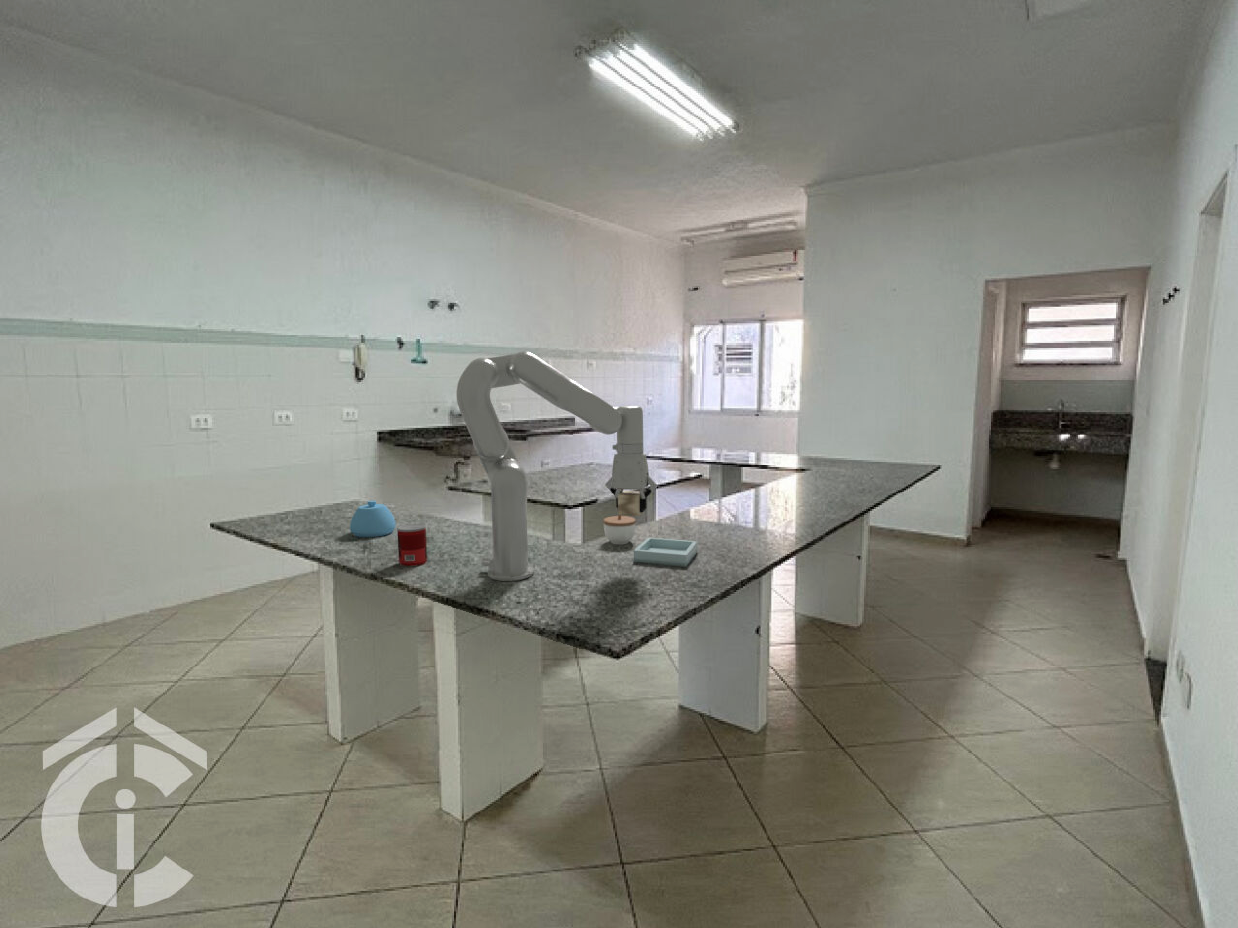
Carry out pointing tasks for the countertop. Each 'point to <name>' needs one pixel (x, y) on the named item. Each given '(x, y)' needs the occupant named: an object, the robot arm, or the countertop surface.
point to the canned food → (412, 544)
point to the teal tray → (665, 551)
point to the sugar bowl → (372, 520)
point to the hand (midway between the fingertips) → (631, 510)
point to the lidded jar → (619, 529)
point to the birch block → (629, 503)
